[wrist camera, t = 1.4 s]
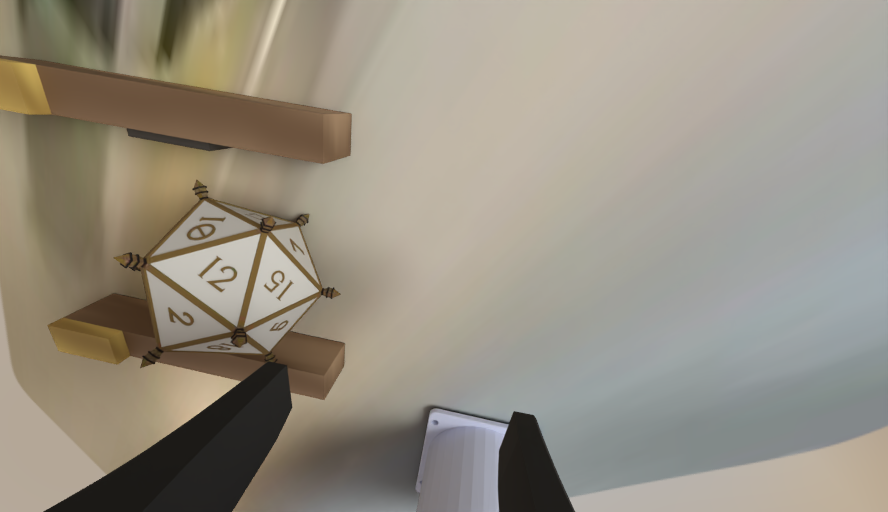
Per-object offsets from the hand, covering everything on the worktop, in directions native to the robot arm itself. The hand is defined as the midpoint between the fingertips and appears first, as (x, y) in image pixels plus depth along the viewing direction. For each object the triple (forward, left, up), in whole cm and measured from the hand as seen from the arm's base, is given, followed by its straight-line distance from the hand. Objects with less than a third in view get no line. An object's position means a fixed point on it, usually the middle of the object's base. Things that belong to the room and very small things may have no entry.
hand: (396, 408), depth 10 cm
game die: (0, +10, -10) cm, 14 cm away
